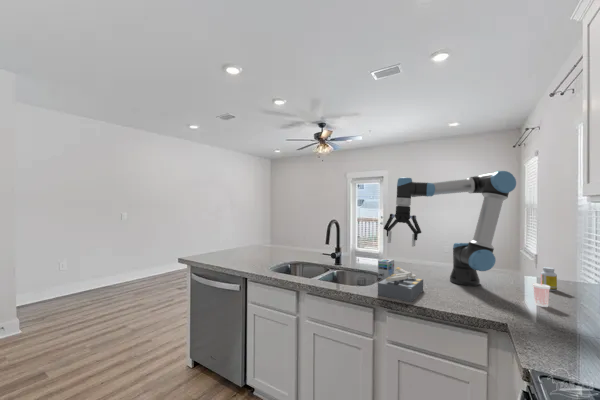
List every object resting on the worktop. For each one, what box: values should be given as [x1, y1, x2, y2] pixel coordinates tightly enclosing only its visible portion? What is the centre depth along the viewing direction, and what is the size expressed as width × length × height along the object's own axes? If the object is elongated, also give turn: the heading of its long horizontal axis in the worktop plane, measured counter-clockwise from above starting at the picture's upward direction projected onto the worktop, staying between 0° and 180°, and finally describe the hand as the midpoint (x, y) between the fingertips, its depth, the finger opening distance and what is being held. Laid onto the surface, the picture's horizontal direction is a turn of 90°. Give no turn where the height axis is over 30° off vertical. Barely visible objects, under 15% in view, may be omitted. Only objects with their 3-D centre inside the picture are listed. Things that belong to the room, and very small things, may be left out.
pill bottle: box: [540, 266, 558, 292], centre depth 152 cm, size 6×6×12 cm
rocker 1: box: [386, 275, 408, 282], centre depth 139 cm, size 10×4×2 cm, turn 53°
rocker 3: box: [394, 266, 417, 279], centre depth 150 cm, size 10×4×2 cm, turn 53°
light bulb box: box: [377, 257, 395, 280], centre depth 174 cm, size 11×7×11 cm, turn 143°
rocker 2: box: [390, 271, 413, 277], centre depth 144 cm, size 10×4×2 cm, turn 53°
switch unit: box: [377, 276, 424, 303], centre depth 144 cm, size 16×22×7 cm
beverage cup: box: [532, 273, 550, 308], centre depth 128 cm, size 6×6×14 cm
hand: (401, 244), depth 155 cm, fingers open, 13 cm apart
